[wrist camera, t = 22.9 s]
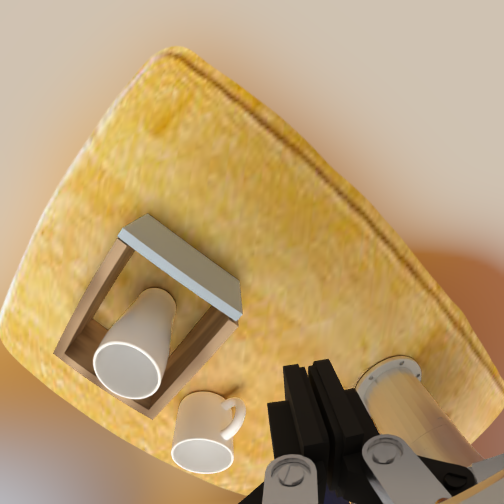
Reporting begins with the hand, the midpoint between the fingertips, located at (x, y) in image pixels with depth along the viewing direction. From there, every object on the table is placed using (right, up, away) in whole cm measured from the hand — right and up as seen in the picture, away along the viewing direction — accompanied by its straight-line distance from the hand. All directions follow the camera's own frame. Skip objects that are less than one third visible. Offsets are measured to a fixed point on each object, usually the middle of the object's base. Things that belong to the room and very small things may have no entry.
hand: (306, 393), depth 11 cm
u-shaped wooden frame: (-15, -2, +29) cm, 33 cm away
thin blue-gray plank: (-9, +5, +28) cm, 30 cm away
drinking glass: (-14, -2, +29) cm, 33 cm away
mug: (-8, -18, +34) cm, 39 cm away
